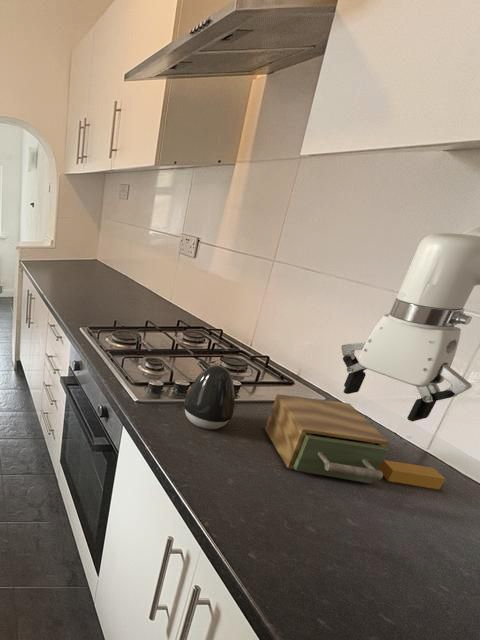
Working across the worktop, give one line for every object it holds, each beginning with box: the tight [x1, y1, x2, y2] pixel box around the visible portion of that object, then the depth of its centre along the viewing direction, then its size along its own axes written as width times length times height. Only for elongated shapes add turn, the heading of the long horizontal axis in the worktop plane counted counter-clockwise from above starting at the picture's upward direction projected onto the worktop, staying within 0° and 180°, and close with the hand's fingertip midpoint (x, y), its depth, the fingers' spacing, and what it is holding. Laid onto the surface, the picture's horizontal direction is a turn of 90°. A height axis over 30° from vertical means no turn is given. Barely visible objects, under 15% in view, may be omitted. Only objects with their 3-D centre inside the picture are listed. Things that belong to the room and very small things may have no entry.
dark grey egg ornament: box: [183, 360, 235, 430], centre depth 97 cm, size 10×10×15 cm
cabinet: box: [264, 393, 389, 470], centre depth 87 cm, size 15×14×10 cm
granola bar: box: [379, 459, 446, 490], centre depth 81 cm, size 8×3×3 cm, turn 72°
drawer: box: [294, 433, 389, 484], centre depth 83 cm, size 18×12×8 cm
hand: (380, 405), depth 74 cm, fingers open, 9 cm apart
